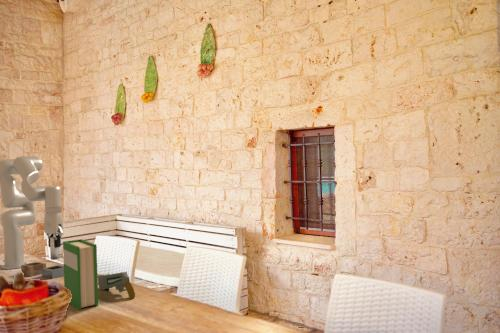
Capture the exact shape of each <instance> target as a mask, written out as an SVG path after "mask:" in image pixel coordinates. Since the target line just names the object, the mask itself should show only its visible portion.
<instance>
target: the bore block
mask: <svg viewBox="0 0 500 333" xmlns="http://www.w3.org/2000/svg"><path fill="white" fill-rule="evenodd" d="M43 268H47V263H46V262H41V261H33V262H29V263H28V262H27V264H24V265H21V268H20V269H21V270H20V272H21V271H22V272H23V273H24V275H23V276H26V277H30V278H31V277H35V276H39V275H42V269H43Z"/></svg>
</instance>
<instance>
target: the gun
mask: <svg viewBox="0 0 500 333" xmlns="http://www.w3.org/2000/svg"><path fill="white" fill-rule="evenodd" d="M97 280H98V288H99V290H100V291H105V290H108V289H113V288H115V290H117V291H118V292H119V293H122V292H127V294H128V299H135V297H136V292H135V289H134V287H133V285H132V284H133V283H131V282H130V281H131V280H130V277H129V275H128V272H127V271H121V272H117V273H116V272H115V273H111V274H110V273H107V274H99V275H98V274H97Z"/></svg>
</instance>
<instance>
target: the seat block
mask: <svg viewBox="0 0 500 333" xmlns="http://www.w3.org/2000/svg"><path fill="white" fill-rule="evenodd" d="M41 277H42V278H47V279H52V280H53V279H57V278H61V277H64V265H61V264H60V265H59V264H55V265H52V266H46V268H43V269H42V274H41Z"/></svg>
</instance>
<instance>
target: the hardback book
mask: <svg viewBox="0 0 500 333" xmlns="http://www.w3.org/2000/svg"><path fill="white" fill-rule="evenodd" d="M62 248H63V249H62V251H63V252H62V253H63V256H62V257H63V266H64V276H63V286H64V287H66V288H67V289H69V290H70V291H71V294H72V299H71V302H70V304H69V305H71V306H72V307H74V308H75V309H76V310H78V311H82V308H85V307H89V306H90V307H92V306H95V307H99V289H98V288H99V285H98V258H97V257H98V254H97V251H98V250H97V244H96V243H94V242H91V241H90V242H89V241H87V240H84V239H74V240H67V241H63V242H62ZM64 287H63V288H64Z"/></svg>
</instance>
